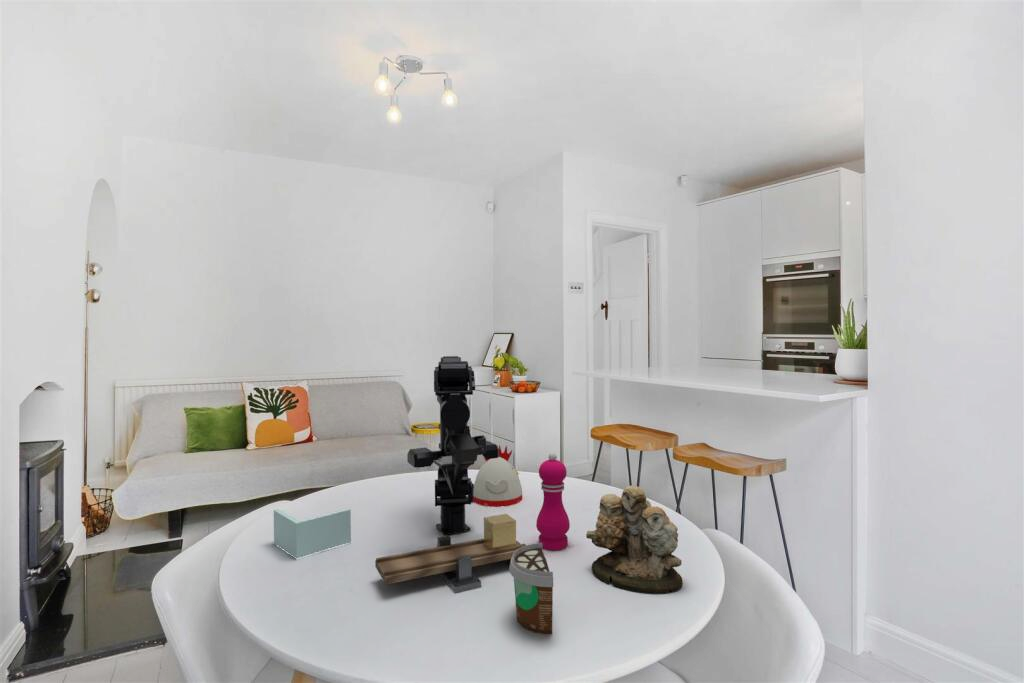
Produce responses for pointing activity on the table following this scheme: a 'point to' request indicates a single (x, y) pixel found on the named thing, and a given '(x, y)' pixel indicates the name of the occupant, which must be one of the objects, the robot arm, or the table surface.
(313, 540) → the right angle wall
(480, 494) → the kitchen timer
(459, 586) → the stand
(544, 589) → the food container
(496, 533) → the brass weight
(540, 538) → the pepper mill
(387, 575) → the balance beam
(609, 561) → the owl figurine
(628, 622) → the table surface
